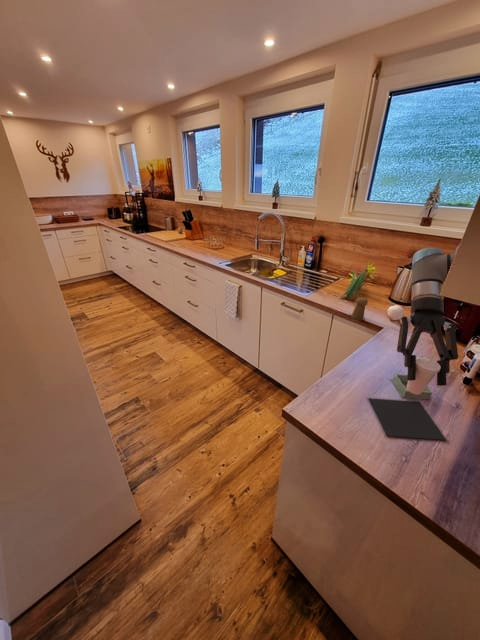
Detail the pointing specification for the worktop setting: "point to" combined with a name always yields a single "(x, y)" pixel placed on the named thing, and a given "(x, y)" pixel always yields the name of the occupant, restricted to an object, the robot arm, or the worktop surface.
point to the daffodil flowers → (358, 282)
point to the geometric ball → (395, 312)
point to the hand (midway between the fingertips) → (426, 382)
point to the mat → (405, 419)
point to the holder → (404, 392)
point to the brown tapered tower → (359, 309)
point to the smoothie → (423, 373)
